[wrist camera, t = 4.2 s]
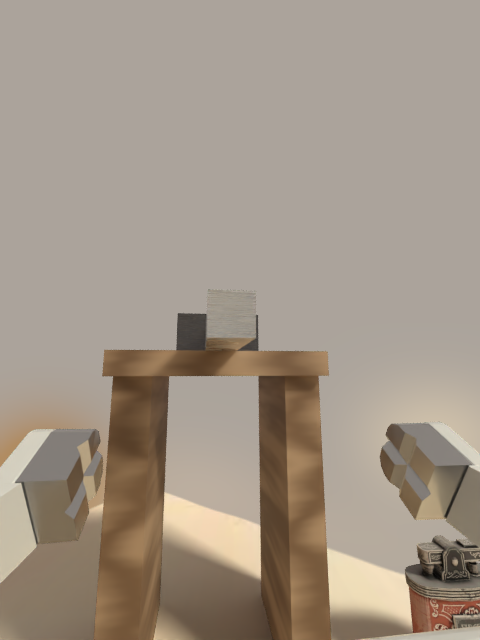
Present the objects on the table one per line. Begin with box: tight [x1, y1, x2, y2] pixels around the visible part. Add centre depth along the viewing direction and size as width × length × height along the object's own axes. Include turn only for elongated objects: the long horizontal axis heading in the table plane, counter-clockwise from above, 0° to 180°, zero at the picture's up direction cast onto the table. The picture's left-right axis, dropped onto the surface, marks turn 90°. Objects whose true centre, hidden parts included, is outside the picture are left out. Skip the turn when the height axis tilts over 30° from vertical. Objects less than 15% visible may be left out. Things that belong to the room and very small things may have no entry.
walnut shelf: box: [94, 350, 331, 640], centre depth 28 cm, size 18×14×26 cm
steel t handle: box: [177, 289, 258, 351], centre depth 24 cm, size 8×18×4 cm, turn 7°
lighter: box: [405, 536, 480, 633], centre depth 24 cm, size 8×3×10 cm, turn 95°
